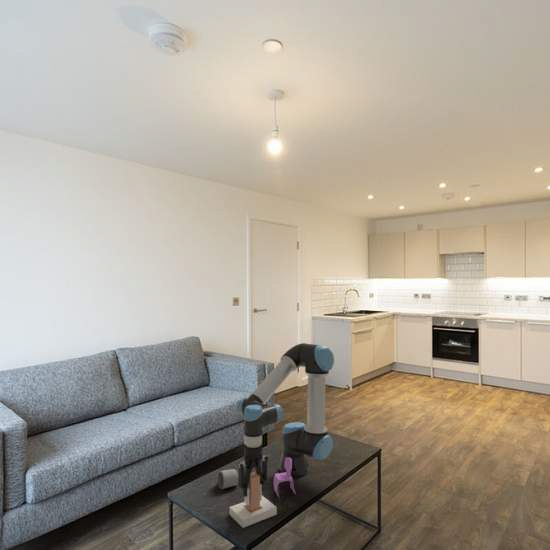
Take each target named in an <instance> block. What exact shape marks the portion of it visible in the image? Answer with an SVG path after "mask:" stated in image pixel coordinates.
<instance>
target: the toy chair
mask: <svg viewBox="0 0 550 550" xmlns="http://www.w3.org/2000/svg"><path fill="white" fill-rule="evenodd" d="M284 467H285V469H286V472H284V473H281V472H280V473H279V472H277V473H274V476H273V490H274V492H275V494H276V496H277V498H280V496H279V492H278V486H279V484H280V483H283V482H289V486H290V487H289V488H290V489H291V491H292V492H293V493H294V494H295V495H297V493H296V490H295V487H294V486H295V485H294V479H293V476H291V470H292V459H291V458H289V457H287V458H285V464H284Z"/></svg>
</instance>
